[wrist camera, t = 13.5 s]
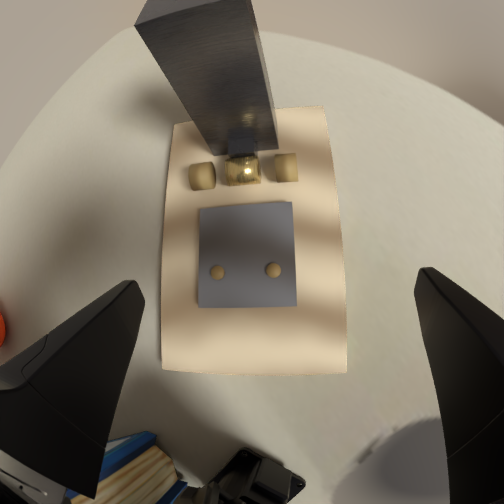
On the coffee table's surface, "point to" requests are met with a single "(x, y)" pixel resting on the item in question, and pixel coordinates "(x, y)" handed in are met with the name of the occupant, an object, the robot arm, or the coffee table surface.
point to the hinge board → (254, 258)
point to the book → (134, 474)
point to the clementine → (2, 330)
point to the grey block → (216, 76)
